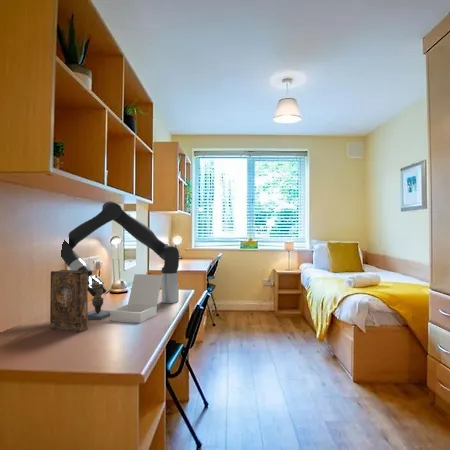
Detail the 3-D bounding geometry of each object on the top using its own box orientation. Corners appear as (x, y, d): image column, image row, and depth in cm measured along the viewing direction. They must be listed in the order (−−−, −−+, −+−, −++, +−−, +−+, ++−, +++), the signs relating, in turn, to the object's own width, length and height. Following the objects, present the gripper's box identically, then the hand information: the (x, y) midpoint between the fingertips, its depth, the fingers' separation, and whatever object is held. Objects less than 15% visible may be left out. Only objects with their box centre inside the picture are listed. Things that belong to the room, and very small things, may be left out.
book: (89, 329, 155) (89, 271, 156) (80, 332, 150) (80, 272, 151) (60, 325, 161) (60, 269, 161) (50, 328, 156) (50, 271, 156)
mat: (94, 312, 186) (94, 309, 186) (115, 314, 183) (115, 311, 183) (79, 318, 175) (79, 314, 175) (101, 319, 172) (101, 316, 172)
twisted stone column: (91, 314, 175) (91, 283, 176) (91, 312, 180) (90, 282, 181) (103, 313, 178) (103, 283, 178) (102, 311, 183) (102, 281, 183)
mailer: (135, 309, 192) (135, 274, 193) (162, 311, 188) (162, 275, 188) (110, 320, 170) (110, 279, 171) (140, 322, 166) (140, 281, 166)
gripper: (75, 266, 175) (96, 290, 171) (93, 263, 188) (113, 286, 185) (66, 276, 176) (86, 301, 173) (85, 273, 190) (104, 296, 186)
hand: (100, 293), depth 179 cm, fingers open, 8 cm apart
